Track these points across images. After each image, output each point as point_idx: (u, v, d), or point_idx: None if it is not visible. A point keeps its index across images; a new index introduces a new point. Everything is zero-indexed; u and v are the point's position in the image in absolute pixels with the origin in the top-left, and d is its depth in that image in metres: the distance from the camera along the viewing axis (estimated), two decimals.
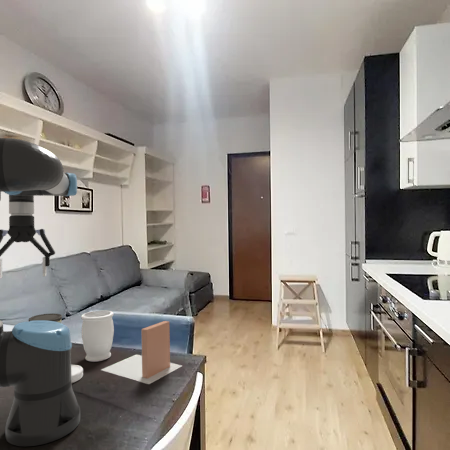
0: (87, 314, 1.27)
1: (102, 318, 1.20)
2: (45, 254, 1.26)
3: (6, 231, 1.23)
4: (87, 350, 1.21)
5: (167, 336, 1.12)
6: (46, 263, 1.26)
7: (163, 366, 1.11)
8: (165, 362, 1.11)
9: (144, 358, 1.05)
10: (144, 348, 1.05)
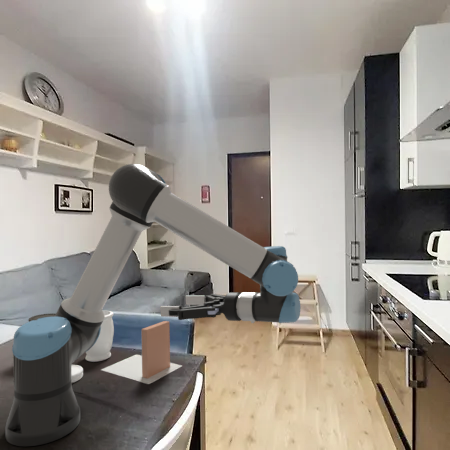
0: None
1: None
2: (183, 307, 0.97)
3: None
4: None
5: (167, 336, 1.12)
6: (173, 309, 0.98)
7: (163, 366, 1.11)
8: (165, 362, 1.11)
9: (144, 358, 1.05)
10: (144, 348, 1.05)
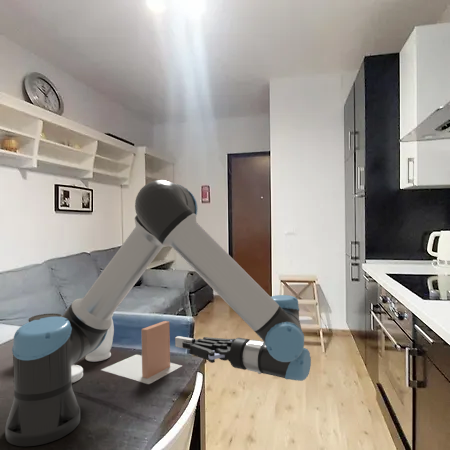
0: None
1: None
2: (195, 342, 1.00)
3: None
4: None
5: (167, 336, 1.12)
6: (186, 342, 1.02)
7: (163, 366, 1.11)
8: (165, 362, 1.11)
9: (144, 358, 1.05)
10: (144, 348, 1.05)
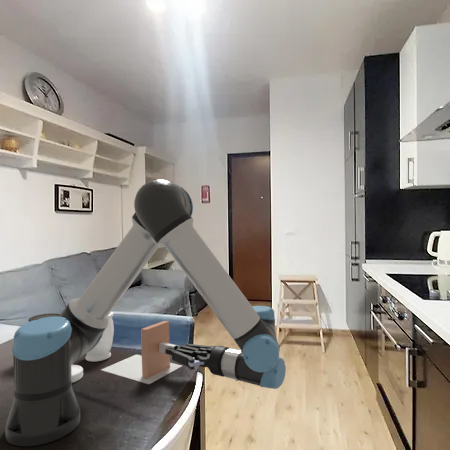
0: None
1: None
2: (177, 348, 1.04)
3: None
4: None
5: (167, 336, 1.12)
6: (169, 348, 1.06)
7: (163, 366, 1.11)
8: (165, 362, 1.11)
9: (144, 358, 1.05)
10: (144, 348, 1.05)
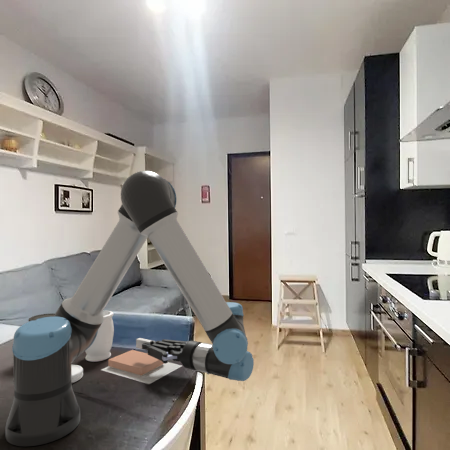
0: None
1: None
2: (153, 343, 1.08)
3: None
4: (87, 350, 1.21)
5: (139, 353, 1.19)
6: (145, 343, 1.10)
7: (154, 360, 1.12)
8: (154, 358, 1.14)
9: (127, 368, 1.09)
10: (120, 366, 1.11)
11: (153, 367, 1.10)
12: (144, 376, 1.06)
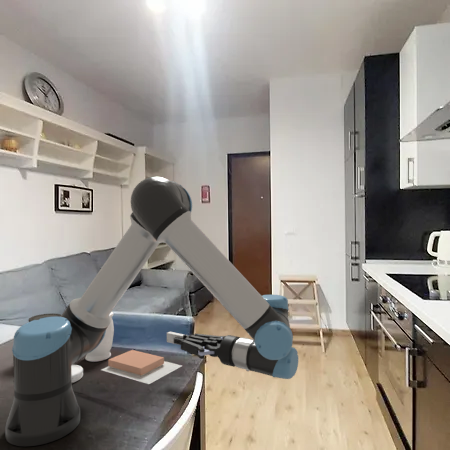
0: None
1: None
2: (186, 338, 1.02)
3: None
4: None
5: (139, 353, 1.19)
6: (177, 338, 1.04)
7: (154, 360, 1.12)
8: (154, 358, 1.14)
9: (127, 368, 1.09)
10: (120, 366, 1.11)
11: (153, 367, 1.10)
12: (144, 376, 1.06)
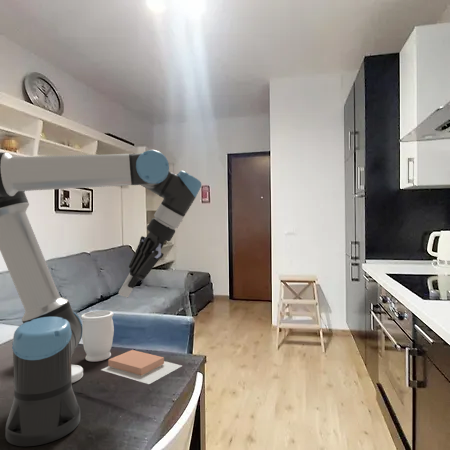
0: (87, 314, 1.27)
1: (102, 318, 1.20)
2: (134, 272, 1.01)
3: None
4: (87, 350, 1.21)
5: (139, 353, 1.19)
6: (129, 282, 1.02)
7: (154, 360, 1.12)
8: (154, 358, 1.14)
9: (127, 368, 1.09)
10: (120, 366, 1.11)
11: (153, 367, 1.10)
12: (144, 376, 1.06)
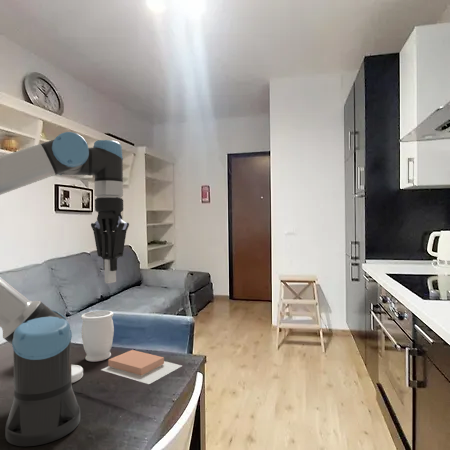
0: (87, 314, 1.27)
1: (102, 318, 1.20)
2: (109, 255, 0.99)
3: (97, 221, 1.03)
4: (87, 350, 1.21)
5: (139, 353, 1.19)
6: (111, 267, 1.00)
7: (154, 360, 1.12)
8: (154, 358, 1.14)
9: (127, 368, 1.09)
10: (120, 366, 1.11)
11: (153, 367, 1.10)
12: (144, 376, 1.06)
